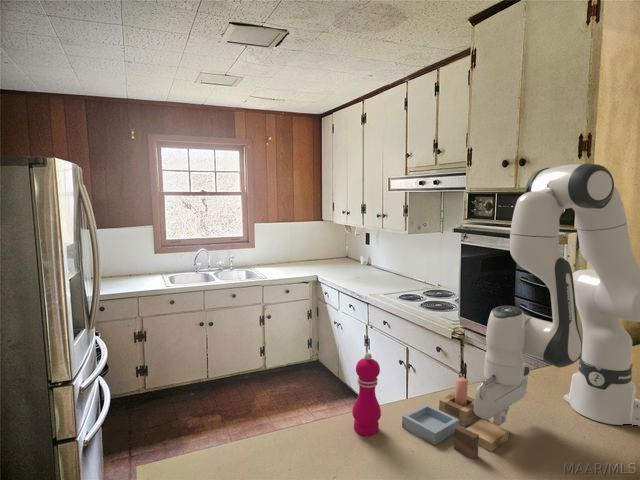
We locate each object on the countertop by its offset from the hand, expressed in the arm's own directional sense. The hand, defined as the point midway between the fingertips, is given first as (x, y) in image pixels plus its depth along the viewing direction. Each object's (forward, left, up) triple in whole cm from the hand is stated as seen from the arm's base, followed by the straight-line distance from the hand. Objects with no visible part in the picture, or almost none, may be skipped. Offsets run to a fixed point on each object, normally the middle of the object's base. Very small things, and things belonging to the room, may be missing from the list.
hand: (499, 423), depth 106 cm
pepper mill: (+27, -21, -2) cm, 34 cm away
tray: (+14, -11, -2) cm, 18 cm away
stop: (+15, 0, -2) cm, 15 cm away
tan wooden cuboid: (+6, 0, -2) cm, 7 cm away
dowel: (+2, -10, -2) cm, 10 cm away
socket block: (+2, -10, -2) cm, 10 cm away
